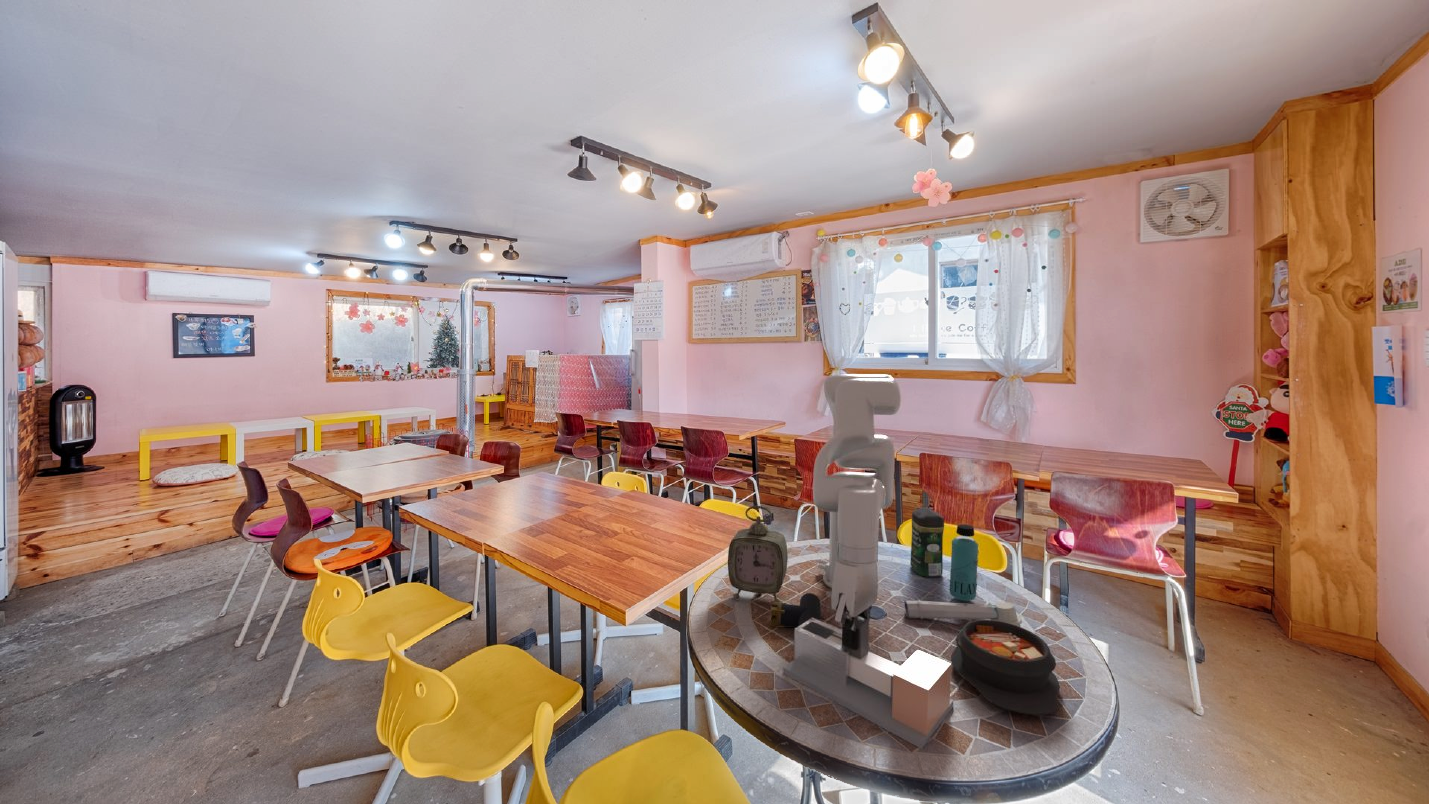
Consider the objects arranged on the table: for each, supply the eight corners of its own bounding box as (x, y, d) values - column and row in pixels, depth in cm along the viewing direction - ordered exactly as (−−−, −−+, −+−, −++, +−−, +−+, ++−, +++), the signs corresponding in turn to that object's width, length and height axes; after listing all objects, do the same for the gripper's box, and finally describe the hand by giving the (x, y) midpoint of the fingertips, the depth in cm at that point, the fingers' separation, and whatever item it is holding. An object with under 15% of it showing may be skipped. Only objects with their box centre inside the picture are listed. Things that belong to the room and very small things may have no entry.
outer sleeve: (794, 659, 104) (794, 629, 103) (811, 646, 109) (812, 617, 108) (845, 686, 96) (846, 653, 95) (862, 671, 100) (863, 639, 100)
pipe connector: (768, 619, 113) (774, 588, 127) (767, 641, 113) (773, 608, 128) (820, 625, 110) (820, 593, 125) (819, 648, 111) (819, 614, 126)
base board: (783, 673, 101) (783, 667, 101) (821, 644, 111) (821, 639, 111) (921, 749, 82) (921, 742, 82) (953, 706, 92) (953, 700, 92)
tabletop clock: (727, 602, 131) (727, 508, 129) (736, 586, 140) (736, 498, 137) (783, 609, 127) (783, 513, 124) (788, 593, 135) (789, 502, 133)
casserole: (938, 639, 114) (939, 603, 113) (1029, 648, 110) (1031, 612, 109) (969, 716, 89) (971, 671, 88) (1088, 732, 85) (1091, 686, 85)
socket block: (891, 717, 87) (893, 673, 87) (916, 690, 94) (917, 649, 94) (926, 735, 83) (928, 690, 82) (949, 705, 90) (951, 663, 89)
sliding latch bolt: (820, 662, 101) (820, 611, 100) (831, 653, 104) (832, 604, 103) (896, 700, 90) (898, 643, 89) (906, 689, 93) (908, 634, 92)
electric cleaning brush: (903, 595, 126) (1015, 596, 119) (906, 621, 126) (1018, 623, 119) (905, 606, 121) (1022, 606, 114) (908, 632, 121) (1025, 635, 114)
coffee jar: (906, 564, 154) (908, 505, 152) (932, 564, 153) (934, 505, 152) (918, 578, 144) (920, 515, 142) (946, 578, 144) (948, 515, 142)
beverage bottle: (949, 604, 129) (952, 528, 127) (947, 592, 135) (950, 520, 134) (977, 608, 127) (981, 531, 125) (975, 597, 133) (978, 523, 131)
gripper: (860, 535, 104) (859, 620, 106) (816, 557, 92) (814, 652, 94) (895, 544, 99) (893, 634, 100) (852, 570, 87) (850, 670, 89)
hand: (855, 642), depth 97 cm, fingers closed on sliding latch bolt, 3 cm apart
